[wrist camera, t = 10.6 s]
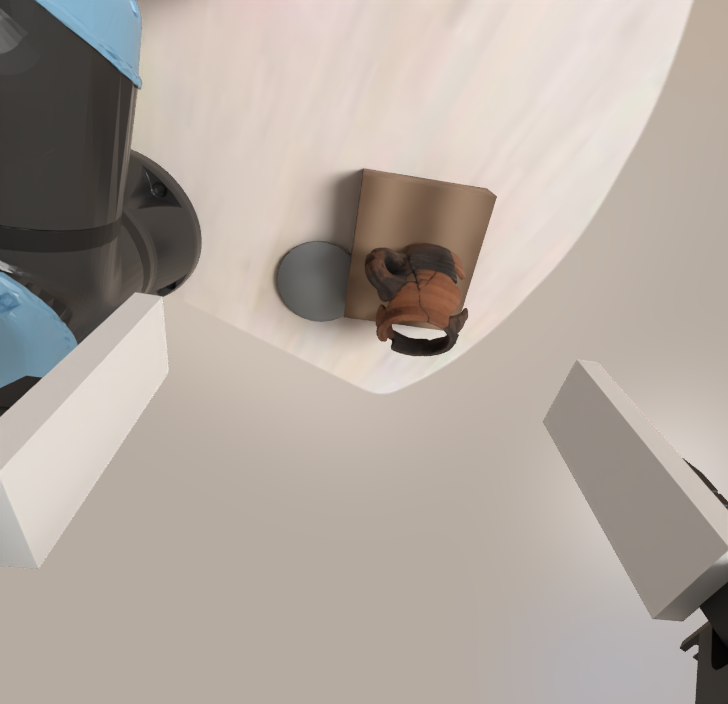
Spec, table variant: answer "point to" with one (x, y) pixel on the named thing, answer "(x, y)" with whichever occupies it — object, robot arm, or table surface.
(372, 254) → the pottery mug
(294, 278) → the coaster
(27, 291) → the robot arm
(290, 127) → the table surface
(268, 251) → the table surface
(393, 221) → the plinth
